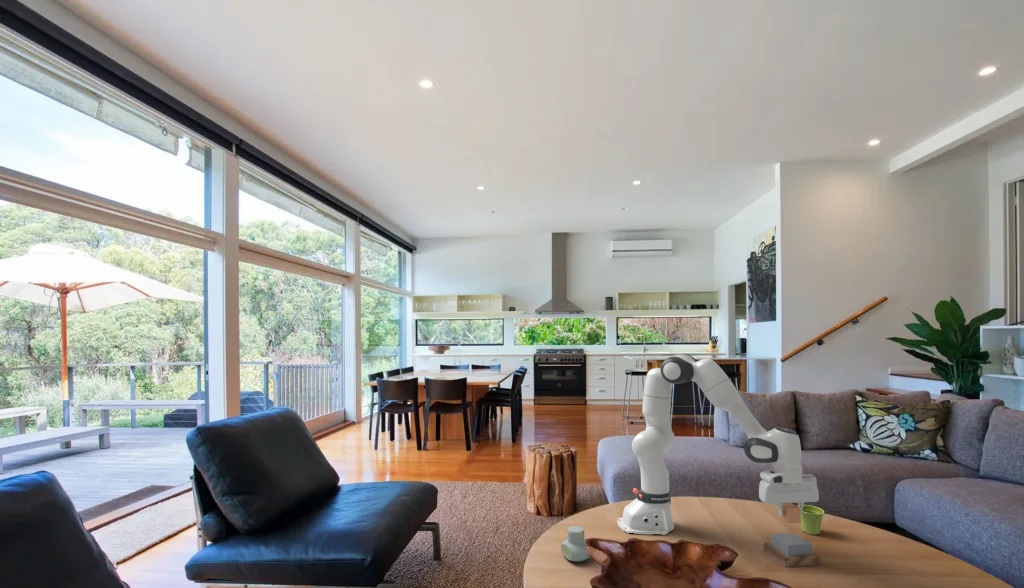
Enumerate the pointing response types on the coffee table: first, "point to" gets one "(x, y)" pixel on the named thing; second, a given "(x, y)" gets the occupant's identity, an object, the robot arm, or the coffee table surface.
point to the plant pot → (811, 519)
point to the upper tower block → (791, 544)
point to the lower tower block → (790, 557)
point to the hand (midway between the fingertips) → (789, 514)
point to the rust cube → (791, 513)
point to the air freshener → (575, 545)
